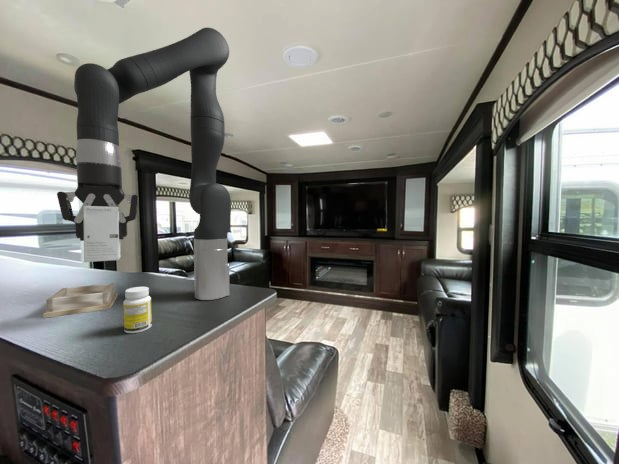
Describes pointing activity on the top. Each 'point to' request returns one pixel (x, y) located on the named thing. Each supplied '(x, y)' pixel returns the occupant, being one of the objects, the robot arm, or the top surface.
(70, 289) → the wooden tray
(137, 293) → the supplement bottle
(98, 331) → the top surface
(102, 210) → the skincare box
